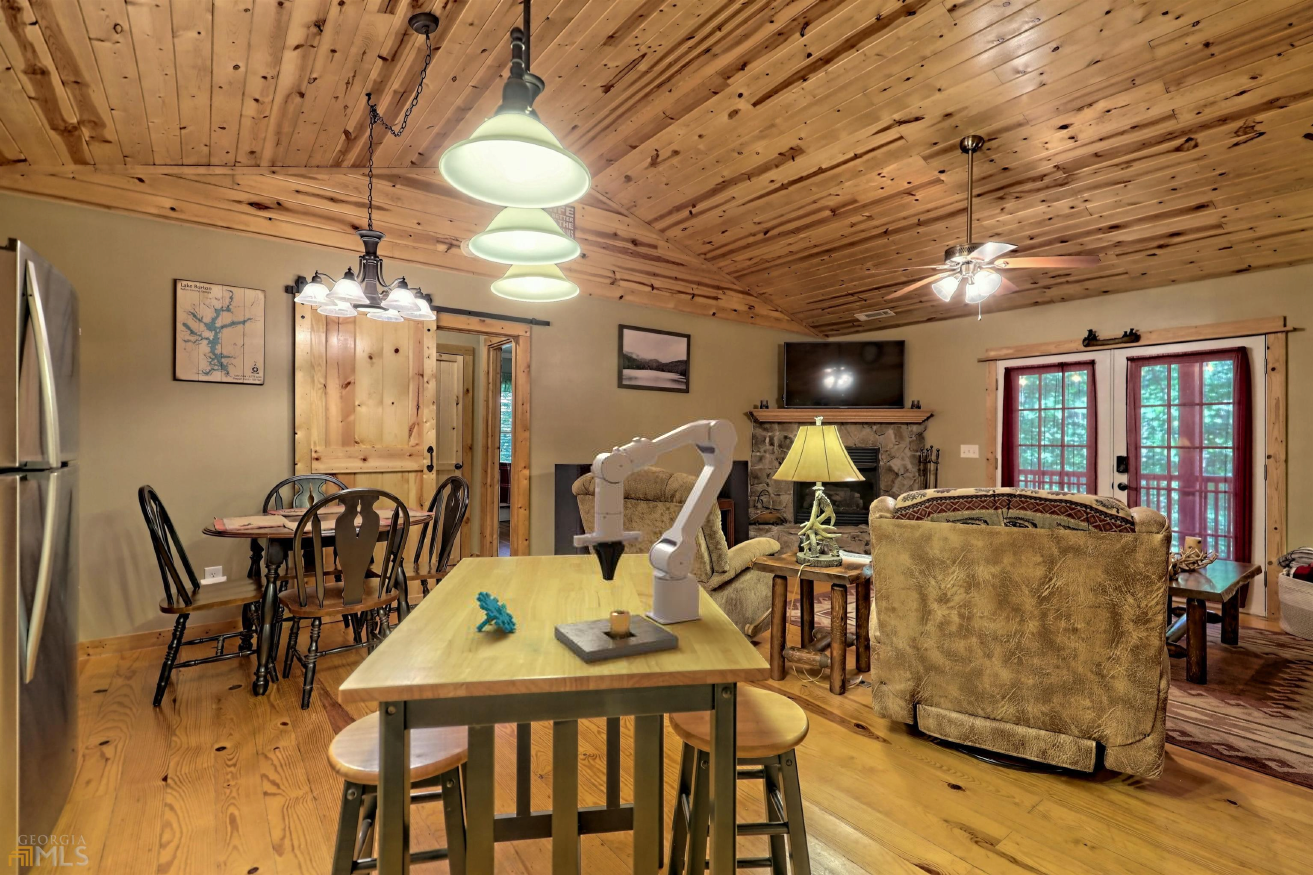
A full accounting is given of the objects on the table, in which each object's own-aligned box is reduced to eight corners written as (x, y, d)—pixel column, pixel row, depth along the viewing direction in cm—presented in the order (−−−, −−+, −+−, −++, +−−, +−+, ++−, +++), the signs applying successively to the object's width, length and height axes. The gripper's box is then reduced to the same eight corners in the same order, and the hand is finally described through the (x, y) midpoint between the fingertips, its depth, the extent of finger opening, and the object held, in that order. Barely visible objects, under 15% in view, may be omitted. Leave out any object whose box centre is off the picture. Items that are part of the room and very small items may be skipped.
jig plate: (638, 623, 130) (638, 614, 130) (678, 647, 116) (678, 636, 116) (554, 636, 121) (554, 625, 121) (586, 663, 107) (586, 651, 107)
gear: (509, 631, 118) (474, 591, 120) (486, 653, 118) (451, 613, 119) (525, 622, 129) (493, 585, 130) (504, 642, 129) (472, 605, 130)
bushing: (623, 640, 119) (623, 608, 119) (632, 646, 116) (633, 613, 116) (606, 643, 117) (606, 611, 117) (615, 649, 114) (615, 615, 114)
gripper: (631, 508, 135) (630, 571, 135) (567, 511, 128) (567, 579, 128) (647, 512, 129) (646, 578, 129) (582, 516, 122) (581, 586, 122)
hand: (608, 579), depth 128 cm, fingers closed
